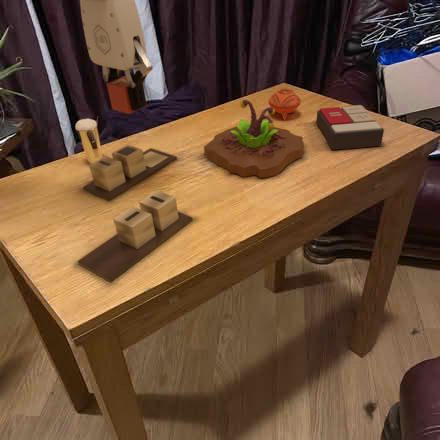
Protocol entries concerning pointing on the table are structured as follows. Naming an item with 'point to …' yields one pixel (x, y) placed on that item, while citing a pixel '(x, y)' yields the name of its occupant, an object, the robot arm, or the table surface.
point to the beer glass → (89, 139)
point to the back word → (125, 170)
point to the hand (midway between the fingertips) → (129, 104)
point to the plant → (255, 146)
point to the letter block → (120, 95)
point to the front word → (136, 235)
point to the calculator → (349, 127)
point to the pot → (284, 101)
